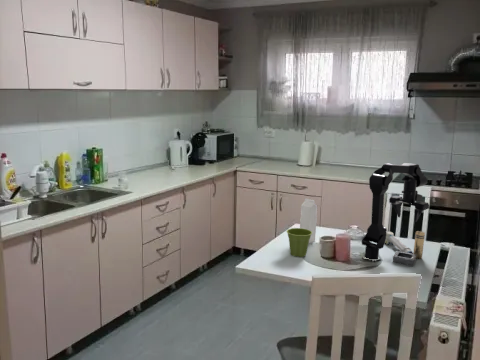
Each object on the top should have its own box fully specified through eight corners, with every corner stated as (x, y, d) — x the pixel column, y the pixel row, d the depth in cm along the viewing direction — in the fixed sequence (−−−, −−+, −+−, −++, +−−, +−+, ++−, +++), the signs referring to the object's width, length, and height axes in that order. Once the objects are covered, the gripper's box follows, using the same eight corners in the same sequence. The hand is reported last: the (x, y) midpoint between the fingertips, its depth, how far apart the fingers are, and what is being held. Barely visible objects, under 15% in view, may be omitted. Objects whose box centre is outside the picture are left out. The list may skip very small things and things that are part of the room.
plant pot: (291, 248, 228) (293, 226, 226) (314, 253, 223) (316, 230, 220) (280, 255, 218) (282, 232, 216) (304, 261, 213) (306, 237, 210)
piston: (419, 260, 220) (422, 234, 217) (411, 257, 223) (413, 232, 220) (423, 258, 222) (426, 232, 220) (415, 255, 225) (418, 230, 223)
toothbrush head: (405, 251, 220) (383, 228, 243) (403, 263, 222) (381, 240, 246) (415, 251, 221) (392, 228, 244) (413, 263, 223) (390, 240, 246)
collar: (413, 266, 211) (413, 260, 210) (392, 262, 215) (393, 256, 214) (415, 260, 219) (416, 254, 218) (396, 256, 223) (396, 250, 222)
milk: (308, 243, 237) (311, 201, 232) (298, 241, 241) (301, 199, 236) (315, 241, 241) (318, 199, 237) (305, 238, 245) (308, 197, 241)
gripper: (436, 189, 226) (433, 220, 230) (402, 183, 240) (400, 212, 244) (423, 193, 219) (421, 225, 223) (389, 186, 234) (387, 216, 237)
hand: (407, 219), depth 232 cm, fingers open, 9 cm apart
